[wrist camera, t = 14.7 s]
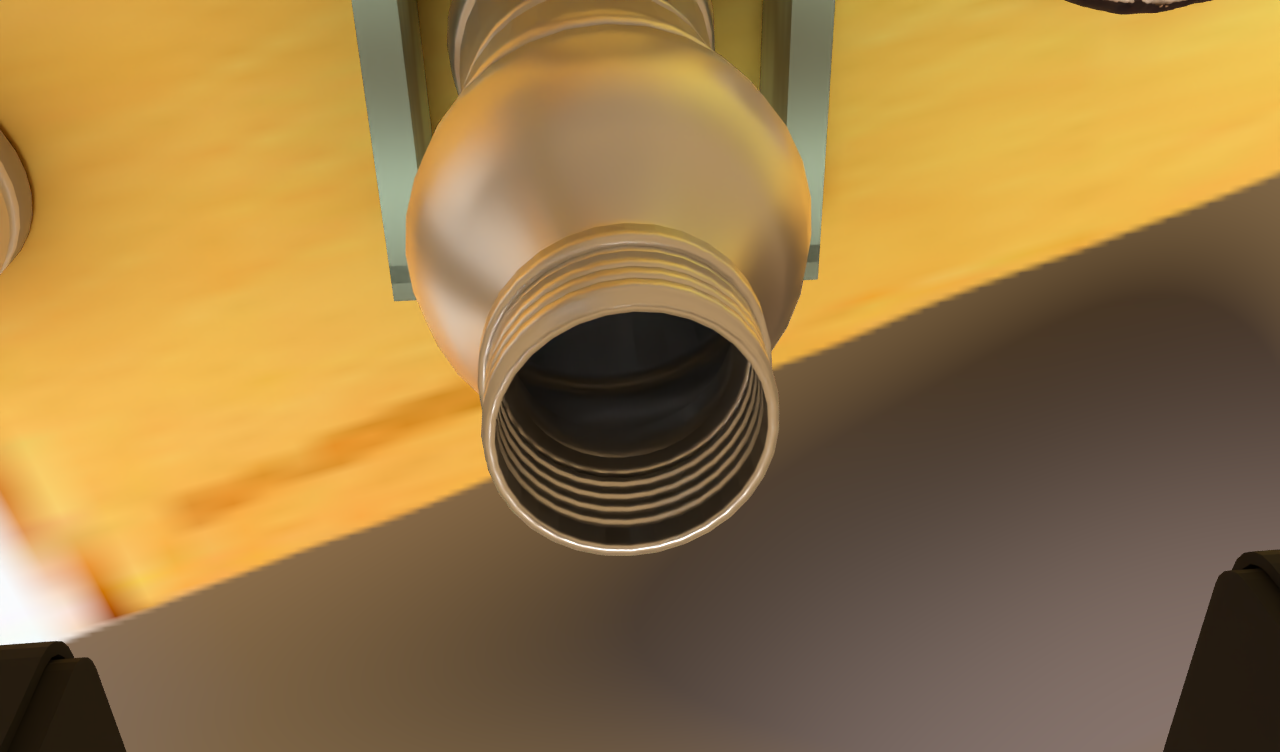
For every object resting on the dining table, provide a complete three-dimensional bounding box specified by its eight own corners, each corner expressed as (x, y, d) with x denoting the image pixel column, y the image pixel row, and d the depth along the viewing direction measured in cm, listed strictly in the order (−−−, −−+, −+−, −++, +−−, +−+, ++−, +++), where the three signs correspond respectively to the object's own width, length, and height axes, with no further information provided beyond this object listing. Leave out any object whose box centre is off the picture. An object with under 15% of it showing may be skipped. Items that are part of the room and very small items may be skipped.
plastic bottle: (420, 87, 32) (290, 580, 15) (503, -170, 29) (459, 82, 12) (642, 167, 34) (754, 694, 17) (743, -68, 31) (1007, 283, 14)
